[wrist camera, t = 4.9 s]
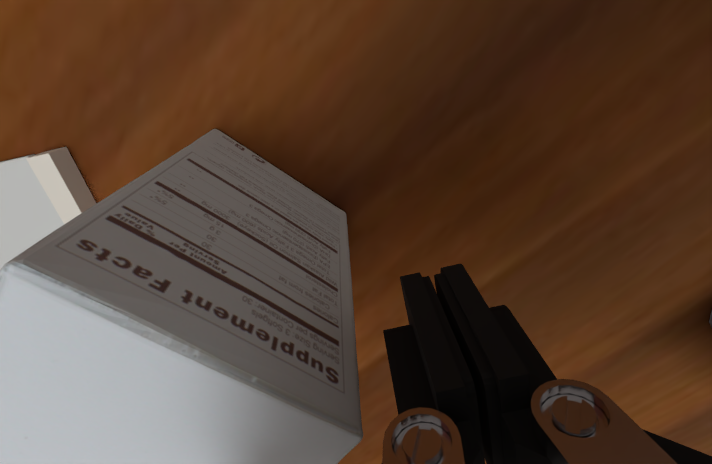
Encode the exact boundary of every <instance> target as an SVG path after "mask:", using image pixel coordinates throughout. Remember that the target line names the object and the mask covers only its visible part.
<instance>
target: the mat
mask: <svg viewBox="0 0 712 464" xmlns="http://www.w3.org/2000/svg"><path fill="white" fill-rule="evenodd" d="M34 155H35V154H33V155H28V156H24V157H20V158H15V159H11V160H7V161H2V162H0V269H1V268H2V267H3V266H4V265H5V264H6V263H7V262H9V261H10V260H12V259H13V258H15V257H16V256H18V255H19V254H21V253H22V252H24V251H25V250H27V249H28V248H29V247H31V246H32V245H34V244H35V243H37V242H38V241H40V240H41V239H43V238H44V237H46V236H47V235H49V234H50V233H52V232H53V231H55V230H56V229H58V228H59V227H61V226H63V225H64V223H63V221H62V220H61V218H60V216H59V215H58V213H57V211H56V209H55V208H54V206H53V204H52V203H51V201H50V199H49V197H48V196H47V194H46V192H45V191H44V189H43V187H42V185H41V184H40V182H39V180H38V179H37V177H36V175H35V173H34V172H33V170H32V168H31V167H30V165H29V163H28V161H27V160H26V158H28V157H31V156H34Z"/></svg>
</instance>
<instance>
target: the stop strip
mask: <svg viewBox="0 0 712 464" xmlns="http://www.w3.org/2000/svg"><path fill="white" fill-rule="evenodd" d="M26 160H27V161H28V163H29V165H30V167H31V168H32V170H33V172H34V173H35V175H36V177H37V179H38V180H39V182H40V184H41V185H42V187H43V189H44V191H45V192H46V194H47V196H48V197H49V199H50V201H51V203H52V204H53V206H54V208H55V209H56V211H57V213H58V215H59V216H60V218H61V220H62V221H63V223H64V224H66V223H67V222H69V221H70V220H72V219H73V218H75V217H76V216H78V215H80V214H81V213H83V212H84V211H86V210H87V209H89V208H90V207H92V206H94V205H95V204H97V203H96V202H95V200H94V198H93V196H92V194H91V192H90V190H89V188H88V187H87V185H86V183H85V181H84V179H83V177H82V175H81V173H80V171H79V170H78V168H77V166H76V164H75V162H74V160H73V158H72V156H71V155H70V153H69V151H68V149H67V147H63V148H59V149H54V150H50V151H46V152H43V153H40V154H37V155H34V156H31V157H28V158H26Z"/></svg>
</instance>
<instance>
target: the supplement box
mask: <svg viewBox="0 0 712 464" xmlns="http://www.w3.org/2000/svg"><path fill="white" fill-rule="evenodd" d="M362 438H363V432H362V424H361V411H360V396H359V378H358V366H357V354H356V339H355V323H354V309H353V296H352V281H351V268H350V253H349V242H348V229H347V216H346V213H345V212H344V211H343V210H341V209H339V208H337V207H336V206H334V205H333V204H331V203H330V202H328V201H327V200H325V199H324V198H322V197H321V196H319V195H318V194H316V193H315V192H313V191H312V190H310V189H309V188H307V187H305V186H304V185H302V184H301V183H299V182H298V181H296V180H295V179H293V178H292V177H290V176H289V175H287V174H286V173H284V172H283V171H281V170H279V169H278V168H276V167H275V166H273V165H272V164H270V163H269V162H267V161H266V160H264V159H263V158H261V157H259V156H258V155H257V154H255V153H253V152H252V151H250V150H249V149H247V148H246V147H244V146H243V145H241V144H239V143H238V142H236V141H235V140H233V139H232V138H230V137H229V136H227V135H226V134H224V133H222V132H221V131H219V130H217V129H212V130H211V131H210V132H208V133H207V134H205V135H204V136H202V137H200V138H199V139H197V140H196V141H195V142H193V143H192V144H190V145H189V146H187V147H185V148H184V149H182V150H181V151H179V152H178V153H176V154H174V155H173V156H171V157H170V158H168V159H167V160H165V161H164V162H162V163H160V164H159V165H157V166H156V167H154V168H153V169H151V170H149V171H148V172H146V173H145V174H143V175H141V176H140V177H138V178H137V179H135V180H133V181H132V182H130V183H129V184H127V185H125V186H124V187H122V188H121V189H119V190H117V191H116V192H114V193H113V194H111V195H110V196H108V197H106V198H105V199H103V200H102V201H100V202H99V203H97V204H95V205H94V206H92V207H90V208H89V209H87V210H86V211H84V212H83V213H81V214H80V215H78V216H76V217H75V218H73V219H72V220H70V221H69V222H67V223H66V224H64V225H63V226H61V227H59V228H58V229H56V230H55V231H53V232H52V233H50V234H49V235H47V236H46V237H44V238H43V239H41V240H40V241H38V242H37V243H35V244H34V245H32V246H31V247H29V248H28V249H27V250H25V251H24V252H22V253H21V254H19V255H18V256H16V257H15V258H13V259H12V260H10V261H9V262H7V263H6V264H5V265H4V266H3V267H2V268H1V269H0V464H337V463H338V462H339V461H340V460H341V459H342V458H343V457H344V456H345V455H346V454H347V453H348V452H350V451H351V450H352V449H353V448H354V447H355V446H356V445H357V444H358V443H359V442H360V441H361V439H362Z"/></svg>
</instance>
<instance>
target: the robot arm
mask: <svg viewBox="0 0 712 464" xmlns="http://www.w3.org/2000/svg"><path fill="white" fill-rule="evenodd" d="M434 278H435V285H436V291H437V294H436V291H435V289H434V287H433V284H432V282H431V280H430V277H429V276H427V277H422V276H421V274H420V273H415V274H411V275H406V276H401V277H400V280H401V285H402V290H403V295H404V300H405V305H406V310H407V315H408V320H409V325H406V326H401V327H397V328H392V329H387V330H383V331H384V337H385V343H386V348H387V354H388V359H389V365H390V370H391V376H392V381H393V387H394V392H395V398H396V403H397V409H398V414H399V415H398V416H397V417H396V418H394V419H393V420H392V421H391V422H390V424H389V426H388V428H387V429H386V431H385V435H384V440H383V459H382V464H485V460H486V463H487V464H712V456H709V455H707V454H704V453H702V452H699V451H696V450H694V449H691V448H689V447H686V446H684V445H681V444H679V443H676V442H673V441H671V440H668V439H666V438H663V437H661V436H658V435H656V434H653V433H650V432H648V431H645V430H643V429H641V428H640V427H639V426H638V425H637V424H636V423H635V422H634V421H633V420H632V419H631V418H630V417H629V416H628V415H627V414H626V413H625V412H624V411H623V410H622V409H621V408H620V407H619V406H617V405H616V404H615V403H614V402H613V401H612V400H611V399H610V398H609V397H608V396H607V395H605V394H604V393H603V392H601V391H600V390H599V389H597V388H595V387H593V386H591V385H589V384H587V383H584V382H580V381H576V380H570V379H558V380H557V378H556V377H555V376H554V374H553V373H552V371H551V370H550V368H549V367H548V365H547V364H546V362H545V361H544V360H543V358H542V357H541V355H540V354H539V352H538V351H537V349H536V348H535V346H534V345H533V344H532V342H531V341H530V339H529V338H528V336H527V335H526V333H525V332H524V330H523V329H522V328H521V326H520V325H519V323H518V322H517V320H516V319H515V317H514V316H513V314H512V313H511V312H510V310H509V309H508V308H507V307H506V306H505V305H501V306H496V307H491V308H489V307H488V306H487V304H486V302H485V301H484V299H483V298H482V296H481V294H480V293H479V291H478V289H477V288H476V286H475V284H474V283H473V281H472V280H471V278H470V276H469V275H468V273H467V271H466V270H465V268H464V267H463V265H462V264H457V265H452V266H447V267H443V268H441V273H440V274H436V275H434ZM484 458H485V459H484Z"/></svg>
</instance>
